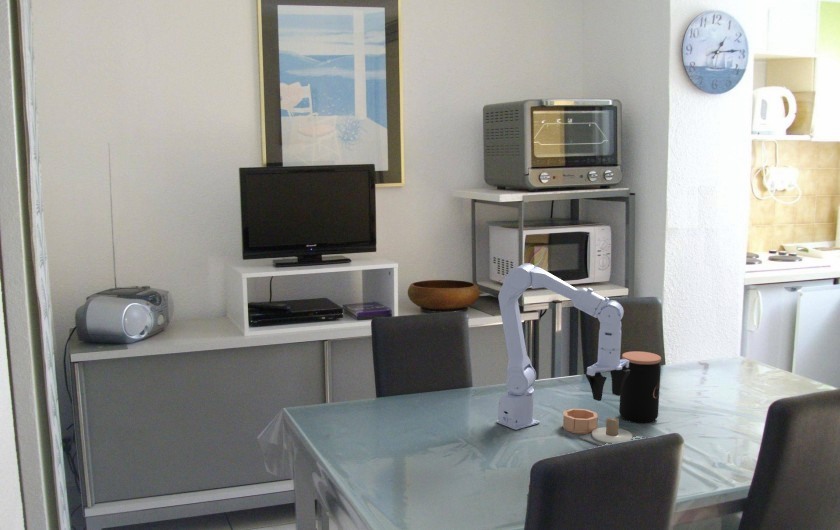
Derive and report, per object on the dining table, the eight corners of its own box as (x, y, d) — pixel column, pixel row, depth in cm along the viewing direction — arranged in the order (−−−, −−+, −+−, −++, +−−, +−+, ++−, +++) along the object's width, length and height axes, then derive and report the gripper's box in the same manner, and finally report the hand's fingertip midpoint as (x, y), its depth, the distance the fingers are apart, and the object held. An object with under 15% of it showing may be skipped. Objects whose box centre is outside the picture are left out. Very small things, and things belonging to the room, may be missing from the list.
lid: (614, 446, 217) (615, 428, 216) (583, 435, 225) (584, 418, 224) (640, 438, 223) (641, 420, 222) (609, 427, 231) (610, 410, 231)
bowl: (581, 436, 225) (581, 422, 225) (556, 427, 232) (556, 413, 232) (603, 429, 231) (604, 415, 230) (578, 420, 238) (579, 406, 237)
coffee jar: (659, 425, 234) (662, 362, 231) (619, 422, 236) (622, 359, 234) (656, 413, 245) (659, 352, 242) (618, 410, 247) (621, 350, 244)
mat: (611, 450, 215) (611, 449, 215) (578, 438, 224) (578, 436, 224) (646, 439, 224) (646, 437, 224) (613, 427, 232) (613, 426, 232)
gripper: (602, 355, 216) (600, 406, 218) (639, 346, 224) (636, 396, 227) (581, 349, 221) (579, 399, 223) (618, 341, 230) (615, 389, 232)
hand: (606, 397), depth 225 cm, fingers open, 7 cm apart
